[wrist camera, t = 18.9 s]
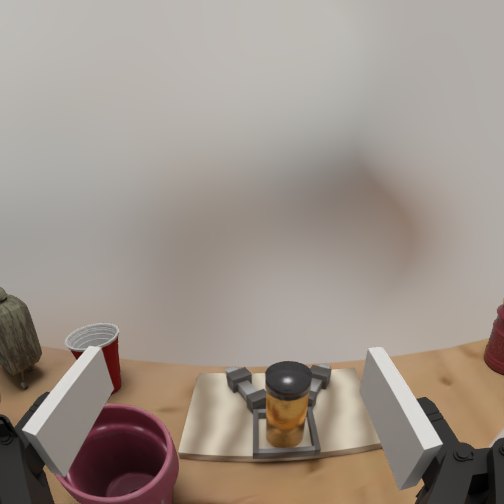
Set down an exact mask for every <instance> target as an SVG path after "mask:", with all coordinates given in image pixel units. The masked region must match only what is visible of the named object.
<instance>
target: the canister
mask: <svg viewBox="0 0 504 504" xmlns="http://www.w3.org/2000/svg"><path fill="white" fill-rule="evenodd" d="M497 313H498V316H497V319H496V320H495V321H494V323H493V329H492V332H491V335H490V338H489V341H488V344H487V345H486V348H485V354H484V359H485V361H486V363H487V364H488V366H489V367H490V368H492V369H493V370H495V371H496V372H498V373H501V374H504V299H503V304H502V305H500V306H499V307H498V309H497Z"/></svg>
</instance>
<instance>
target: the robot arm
mask: <svg viewBox="0 0 504 504" xmlns="http://www.w3.org/2000/svg"><path fill="white" fill-rule="evenodd" d="M113 390H114V387H113V384H112V381H111V378H110V375H109V372H108V369H107V365H106V362H105V359H104V355H103V352H102V348H101V347H94V346H89V347H88V348H87V349H86V350H85V351H84V353H83V354H82V355H81V356H80V357H79V358H78V360H77V361H76V362H75V363H74V364H73V366H72V367H71V368H70V369H69V370H68V372H67V373H66V374H65V375H64V376H63V378H62V379H61V380H60V381H59V383H58V384H57V385H56V386H55V388H54V389H53V390H52V391H51V393H50V392H46V393H44V394H43V395H41V396H40V397H38V399H37V400H36V401H35V402H34V404H33V405H32V406H31V407H30V409H29V411H27V412H26V414H25V415H24V416H23V417H22V419H21V420H20V421H19V422H18V424H17V425H16V426H15V428H14V427H13V425H12V424H11V422H10V420H9V419H8V418H7V417H6V416H5V415H2V414H0V504H54V501H53V498H52V495H51V492H50V488H49V485H48V481H47V478H46V474H45V472H44V470H43V467H44V465H46V466H47V467H48V469H49V470H50V471H51V472H52V473H55V474H57V475H60V476H62V477H65V476H66V474H67V472H68V470H69V468H70V467H71V465H72V463H73V461H74V459H75V457H76V455H77V453H78V452H79V450H80V448H81V446H82V444H83V442H84V441H85V439H86V437H87V435H88V433H89V432H90V430H91V428H92V426H93V424H94V423H95V421H96V419H97V417H98V416H99V414H100V412H101V410H102V409H103V407H104V405H105V403H106V402H107V400H108V398H109V396H110V395H111V393H112V391H113ZM359 392H360V395H361V397H362V399H363V402H364V404H365V406H366V409H367V411H368V413H369V416H370V418H371V421H372V423H373V425H374V428H375V430H376V433H377V435H378V438H379V440H380V443H381V445H382V447H383V450H384V452H385V455H386V458H387V460H388V463H389V465H390V468H391V470H392V473H393V475H394V478H395V481H396V483H397V486H398V489H399V491H400V490H403V489H406V488H410V487H413V486H416V485H417V484H418V482H419V481H420V479H421V478H422V479H423V482H424V484H425V485H424V486H423V487H422V489H421V490H420V491H419V493H418V494H417V495H416V497H418V498H417V500H416V502H415V504H504V438H500V439H498V440H497V441H495V443H494V444H493V446H492V447H491V448H483V449H474V448H473V447H472V446H471V445H469V444H467V443H460V442H459V441H458V439H457V438H456V436H455V434H454V433H453V431H452V430H451V428H450V427H449V425H448V424H447V422H446V420H445V419H443V418H444V417H443V416H442V414H441V413H439V410H438V408H437V407H436V405H435V404H434V403H433V402H432V401H430V400H429V399H428V398H426V397H423V398H418V399H416V398H415V397H414V395H413V393H412V392H411V390H410V389H409V387H408V386H407V384H406V382H405V381H404V379H403V378H402V376H401V375H400V373H399V371H398V370H397V368H396V367H395V365H394V364H393V362H392V361H391V359H390V358H389V356H388V355H387V353H386V352H385V350H384V349H383V347H377V348H368V351H367V356H366V362H365V366H364V371H363V376H362V381H361V385H360V389H359ZM0 402H1V396H0Z"/></svg>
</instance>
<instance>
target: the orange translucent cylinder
mask: <svg viewBox="0 0 504 504" xmlns="http://www.w3.org/2000/svg"><path fill="white" fill-rule="evenodd" d="M311 382H312V372H311V370H310V369H309V368H308V367H307V366H306V365H304V364H301V363H298V362H293V361H284V362H279V363H276V364H273V365H271V366H270V367H269V368H268V369H267V370H266V373H265V389H266V439H267V441H268V442H269V443H270V444H271V445H272V446H274V447H277V448H292V447H295V446H297V445H298V444H299V443H300V442H301V441H302V439H303V435H304V428H305V421H306V413H307V405H308V397H309V392H310V389H311Z"/></svg>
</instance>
